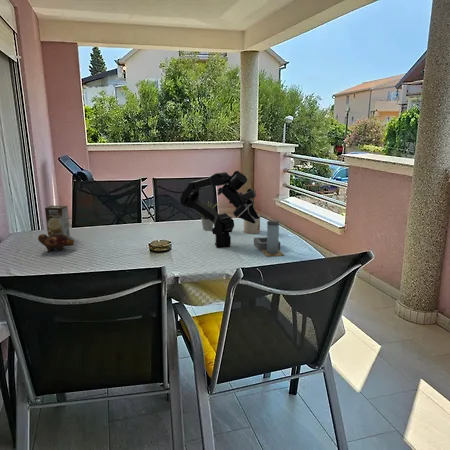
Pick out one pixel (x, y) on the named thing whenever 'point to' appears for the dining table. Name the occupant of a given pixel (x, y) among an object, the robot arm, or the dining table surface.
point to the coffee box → (57, 220)
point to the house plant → (207, 221)
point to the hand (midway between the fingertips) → (256, 220)
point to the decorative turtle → (55, 241)
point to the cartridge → (272, 236)
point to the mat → (272, 254)
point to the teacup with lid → (252, 226)
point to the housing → (262, 243)
